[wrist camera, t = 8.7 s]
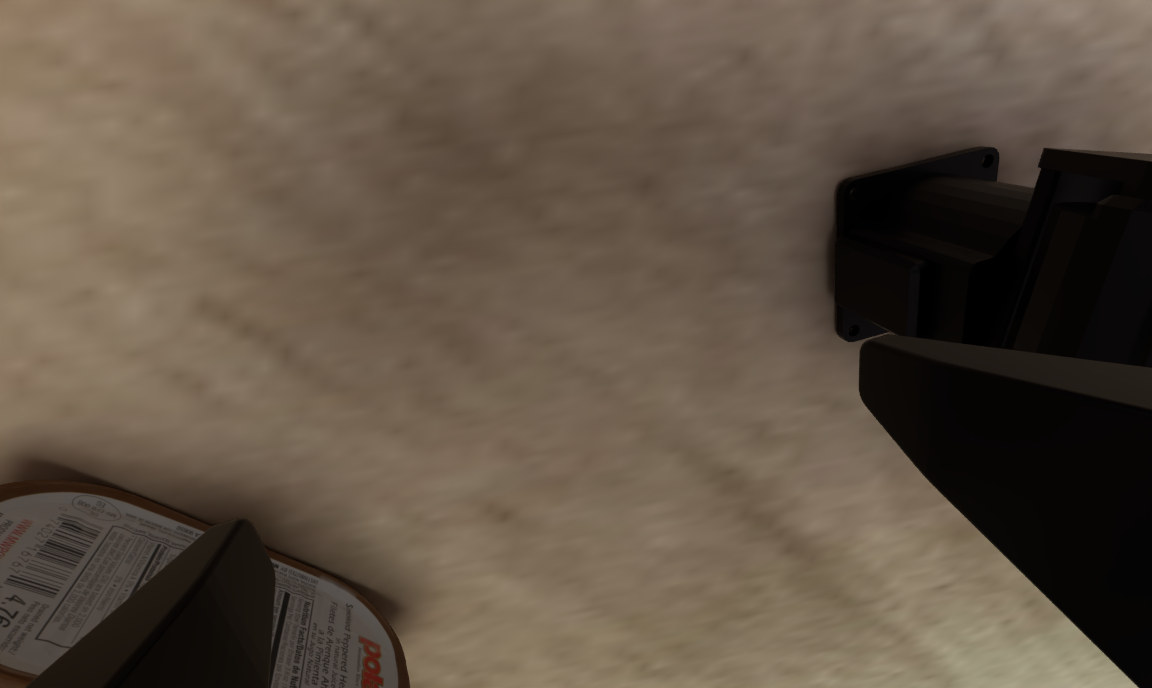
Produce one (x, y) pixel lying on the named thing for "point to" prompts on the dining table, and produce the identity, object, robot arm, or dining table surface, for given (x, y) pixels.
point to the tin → (137, 553)
